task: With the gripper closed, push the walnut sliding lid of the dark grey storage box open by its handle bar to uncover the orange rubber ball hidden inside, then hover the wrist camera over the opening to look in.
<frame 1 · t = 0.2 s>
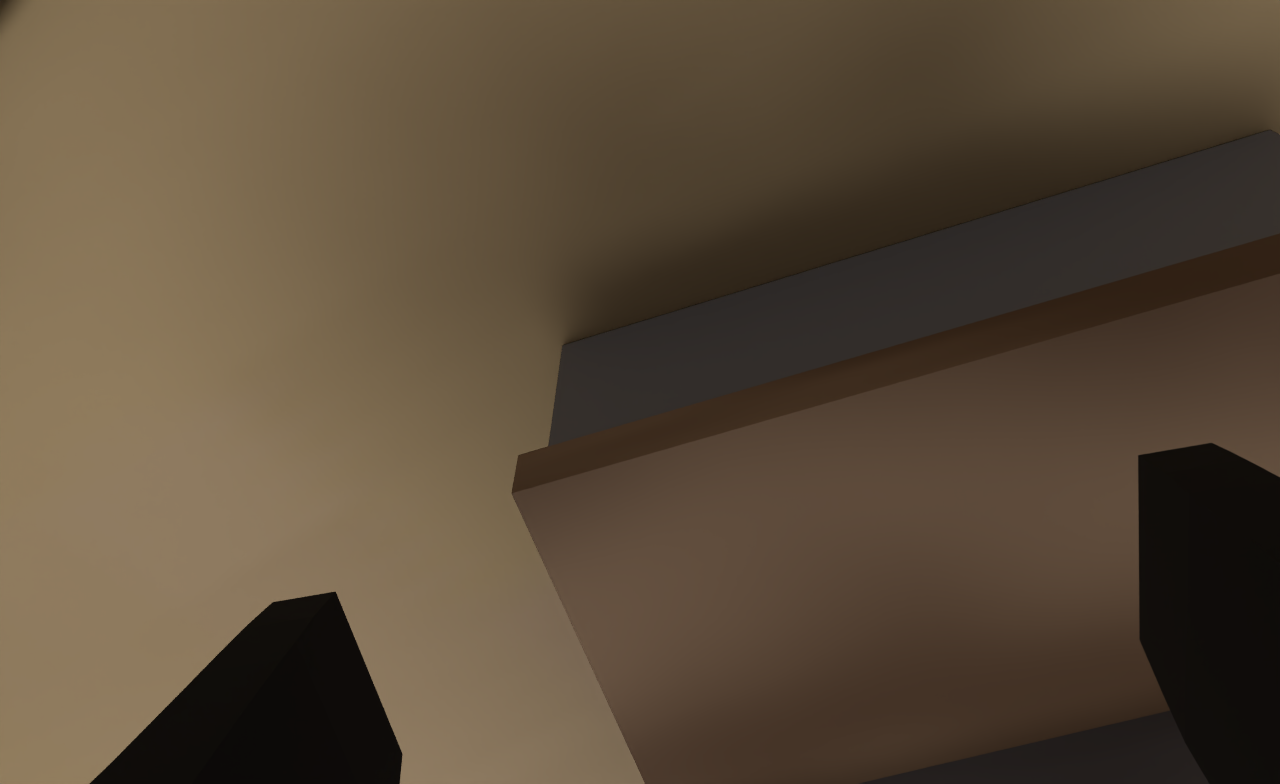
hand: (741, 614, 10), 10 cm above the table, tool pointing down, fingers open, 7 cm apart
lid: (1072, 763, 17), point 6 cm above the table, slide at 0.0 cm
storage box: (968, 525, 22), on the table
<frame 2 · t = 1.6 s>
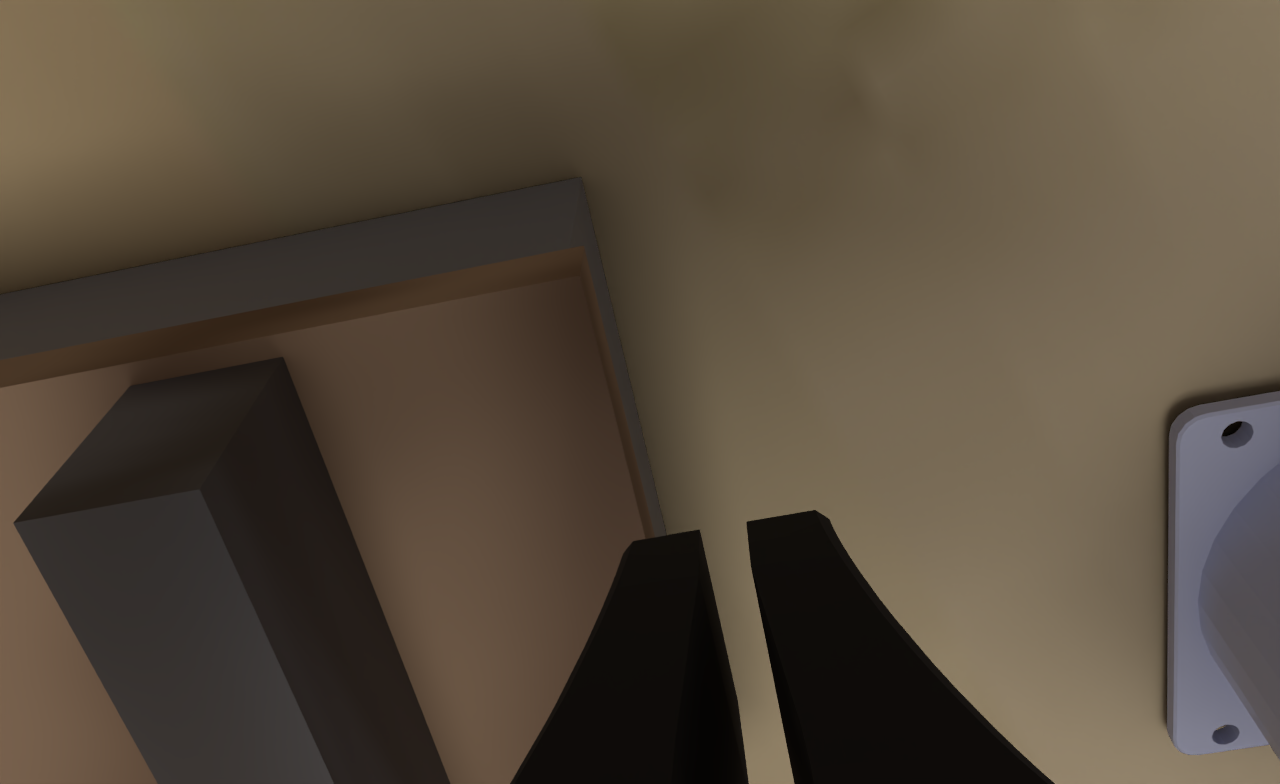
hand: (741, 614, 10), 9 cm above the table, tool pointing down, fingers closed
storage box: (340, 546, 21), on the table
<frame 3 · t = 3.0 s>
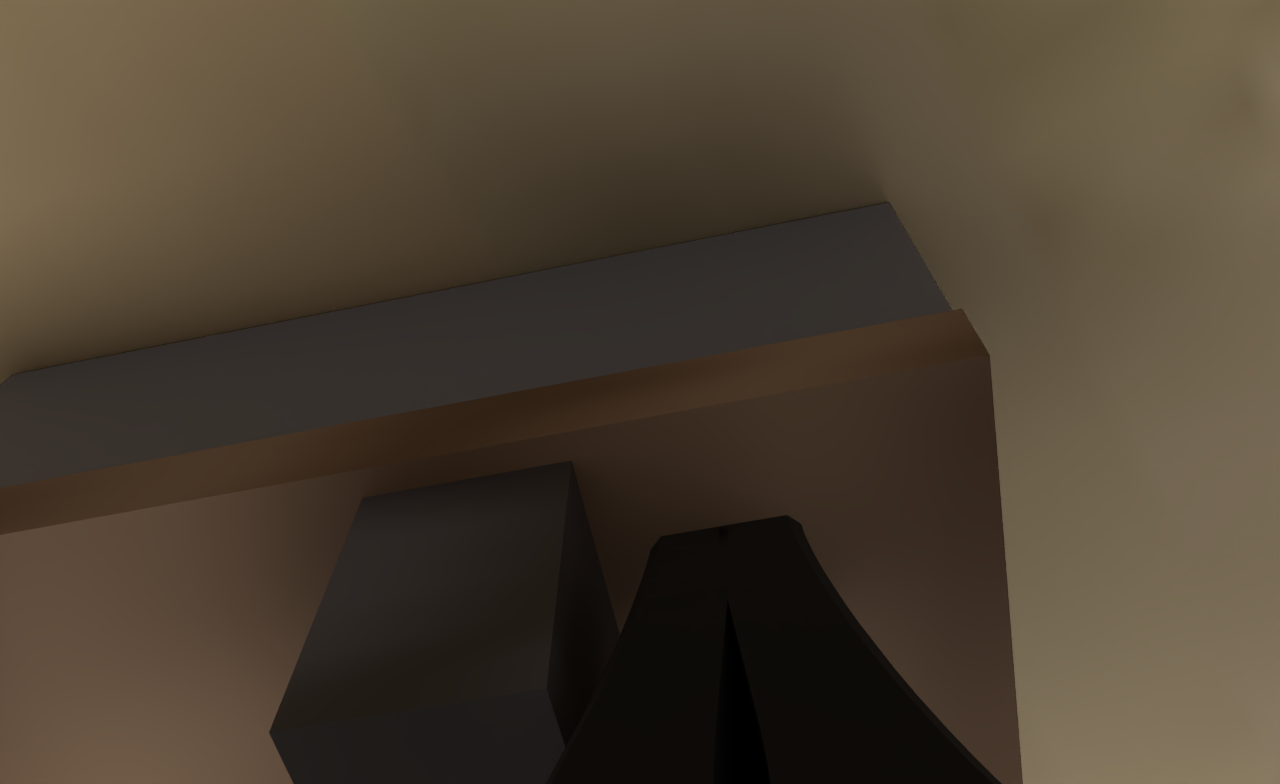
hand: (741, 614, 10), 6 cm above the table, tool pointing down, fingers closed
storage box: (544, 642, 18), on the table
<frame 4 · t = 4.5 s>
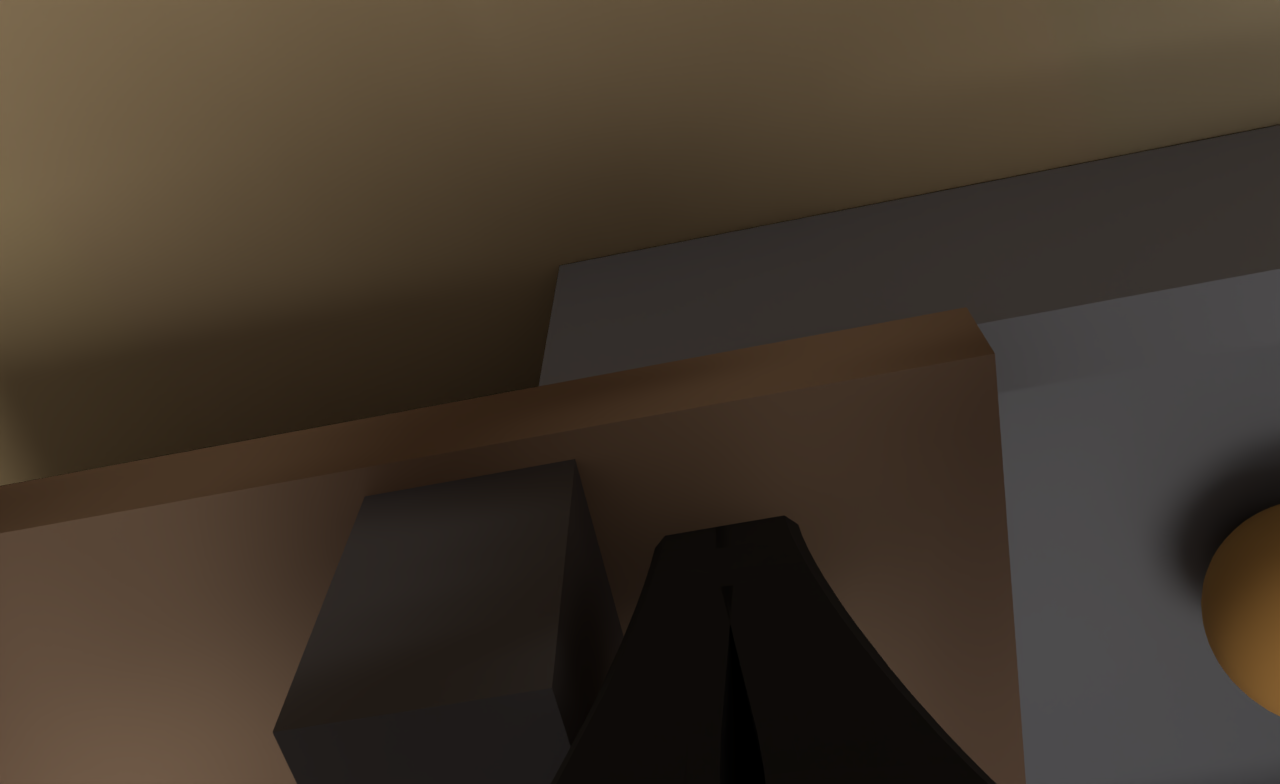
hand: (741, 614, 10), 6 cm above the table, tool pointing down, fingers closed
storage box: (1048, 559, 17), on the table
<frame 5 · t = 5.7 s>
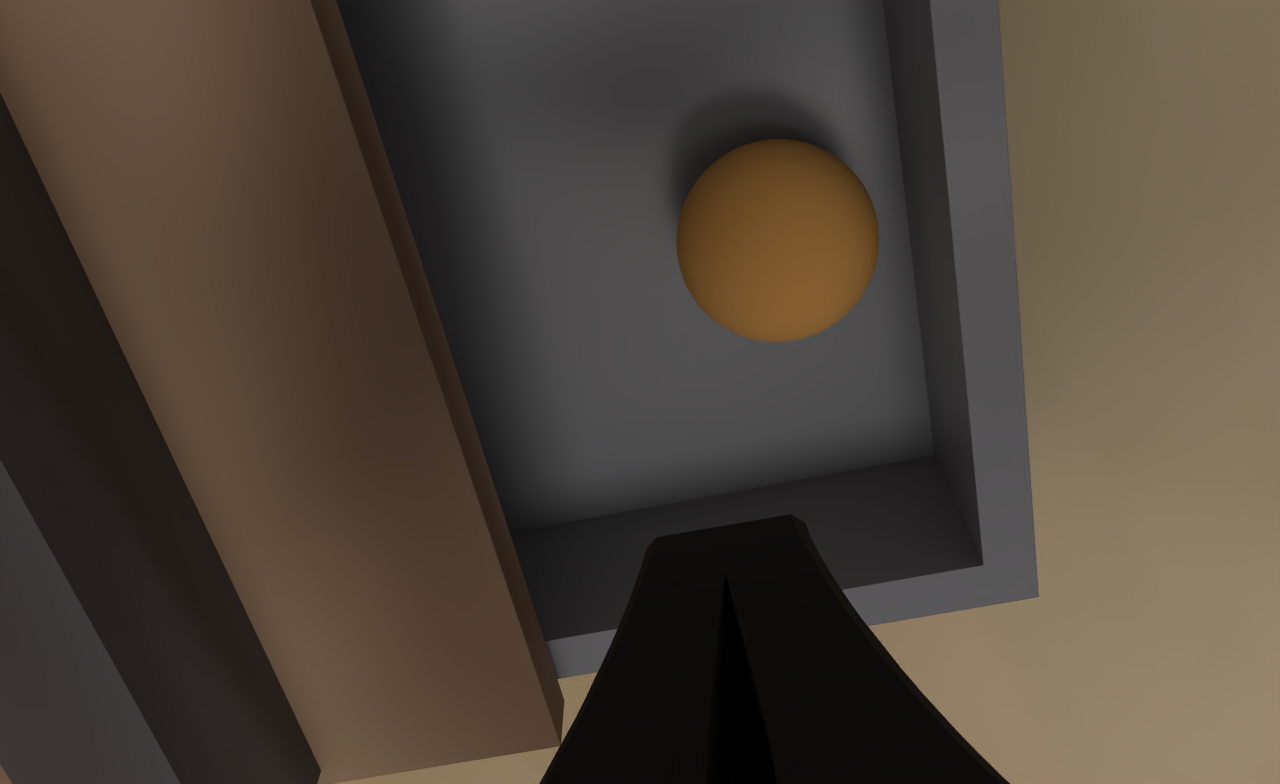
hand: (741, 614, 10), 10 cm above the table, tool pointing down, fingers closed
storage box: (586, 235, 19), on the table
ball: (776, 241, 17), point 2 cm above the table, touching storage box
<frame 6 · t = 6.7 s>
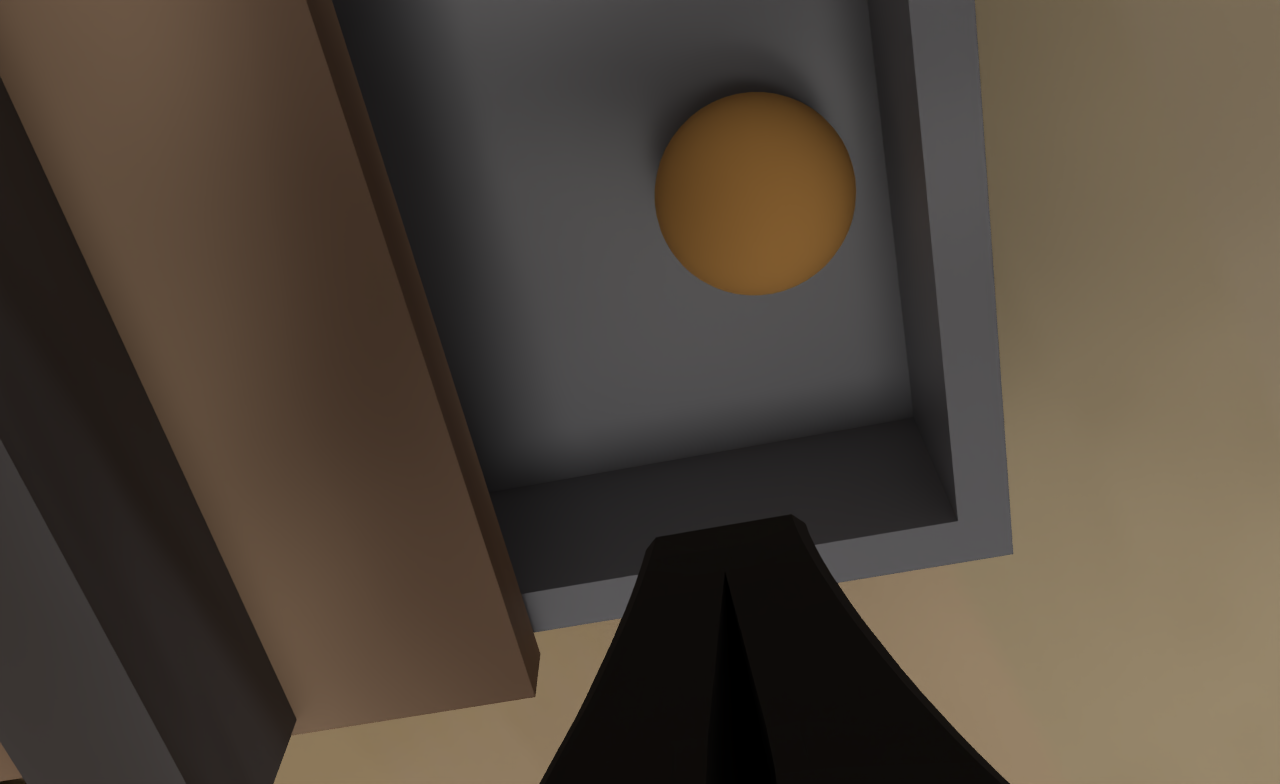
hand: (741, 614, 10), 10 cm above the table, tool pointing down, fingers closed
storage box: (567, 192, 19), on the table
ball: (754, 195, 17), point 2 cm above the table, touching storage box
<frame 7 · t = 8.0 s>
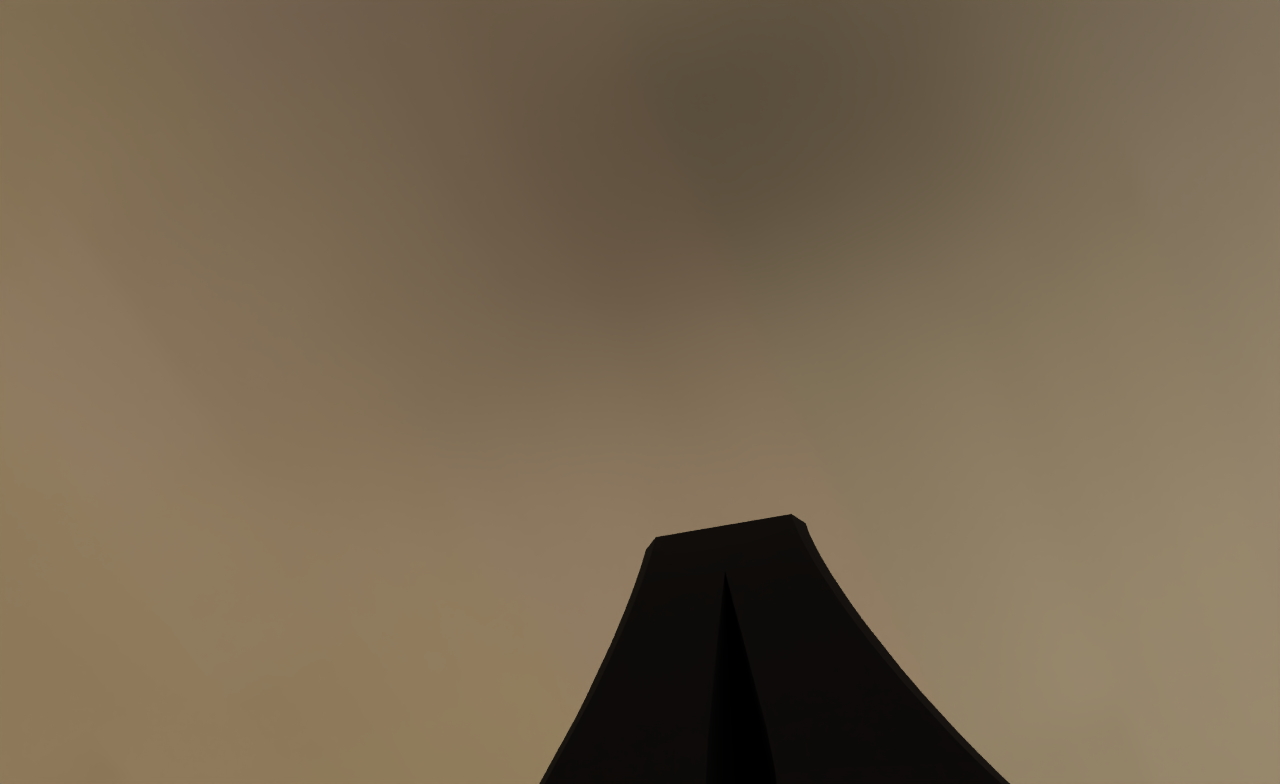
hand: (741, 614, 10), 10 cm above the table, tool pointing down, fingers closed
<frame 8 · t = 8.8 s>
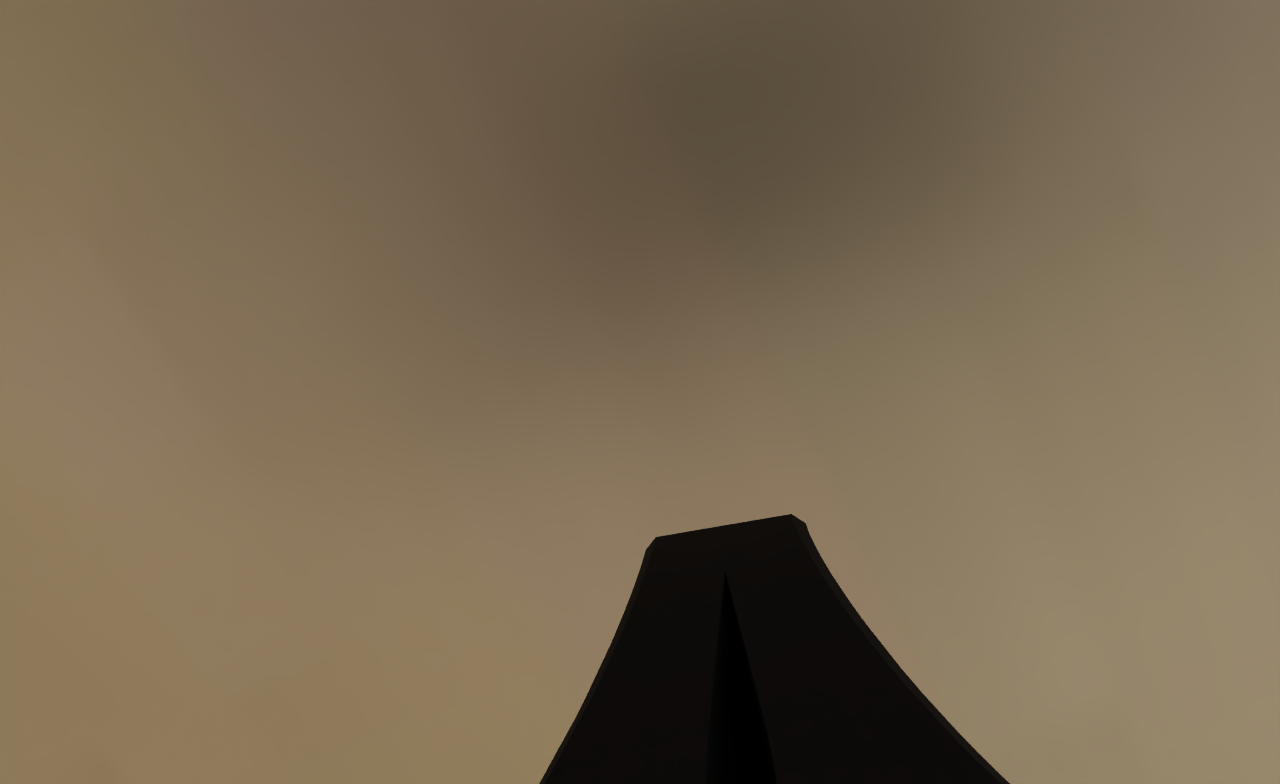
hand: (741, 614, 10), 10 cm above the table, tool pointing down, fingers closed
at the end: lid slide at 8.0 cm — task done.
